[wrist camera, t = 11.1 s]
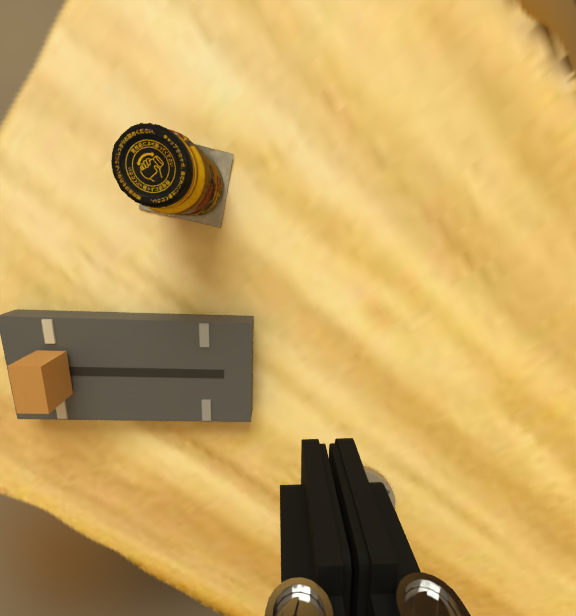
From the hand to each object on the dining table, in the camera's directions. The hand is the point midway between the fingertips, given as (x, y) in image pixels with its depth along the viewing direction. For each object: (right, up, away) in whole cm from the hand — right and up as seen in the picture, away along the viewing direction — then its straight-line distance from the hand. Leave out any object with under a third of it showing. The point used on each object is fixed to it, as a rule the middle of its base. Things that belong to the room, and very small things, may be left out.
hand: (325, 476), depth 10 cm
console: (-18, -1, +27) cm, 32 cm away
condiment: (-12, +18, +22) cm, 31 cm away
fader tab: (-26, -1, +24) cm, 35 cm away
